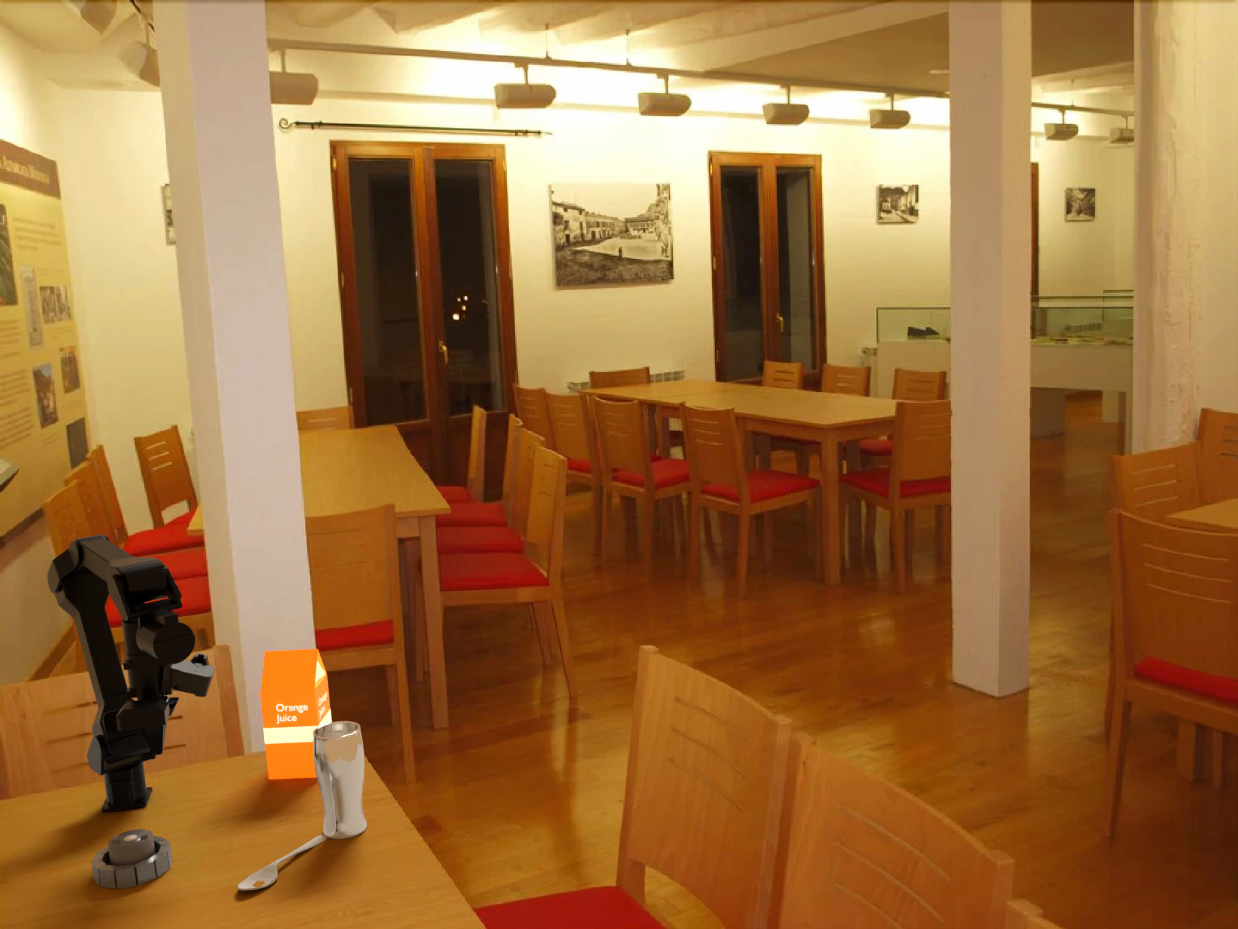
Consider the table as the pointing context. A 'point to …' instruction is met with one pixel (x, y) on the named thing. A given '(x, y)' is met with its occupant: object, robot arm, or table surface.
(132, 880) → the segmented ring
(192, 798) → the table surface
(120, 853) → the cap
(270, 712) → the orange juice
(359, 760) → the beer glass
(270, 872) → the spoon
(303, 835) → the table surface
